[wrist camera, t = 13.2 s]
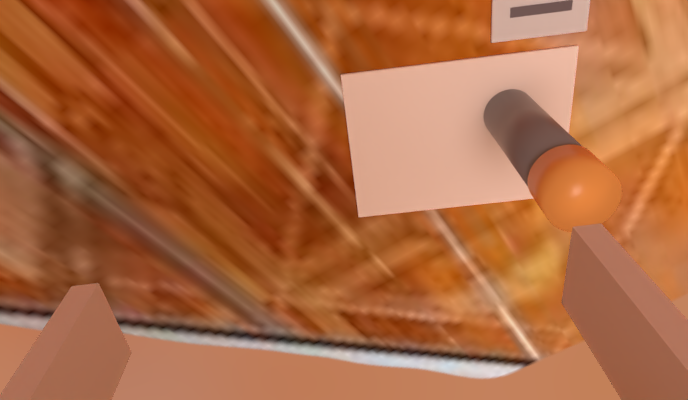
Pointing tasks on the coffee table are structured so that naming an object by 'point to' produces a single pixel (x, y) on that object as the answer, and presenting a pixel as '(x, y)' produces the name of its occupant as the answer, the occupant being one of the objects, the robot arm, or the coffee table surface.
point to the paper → (445, 128)
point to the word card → (537, 18)
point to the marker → (552, 162)
